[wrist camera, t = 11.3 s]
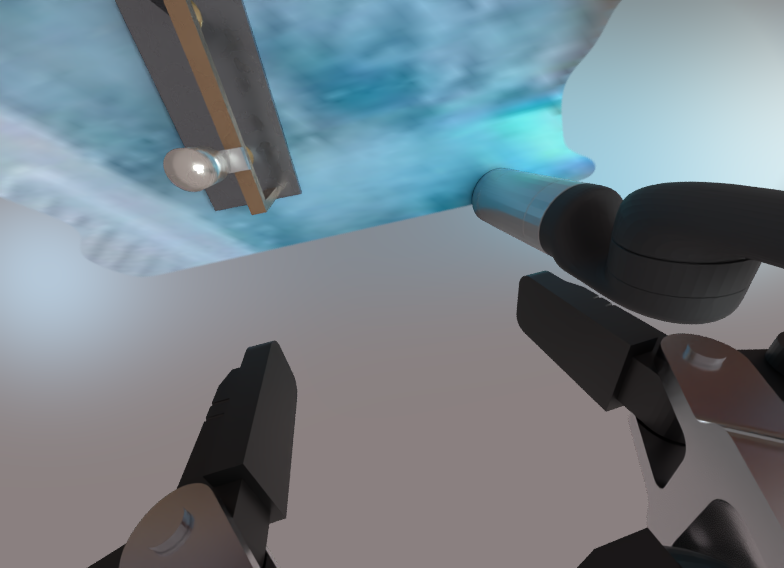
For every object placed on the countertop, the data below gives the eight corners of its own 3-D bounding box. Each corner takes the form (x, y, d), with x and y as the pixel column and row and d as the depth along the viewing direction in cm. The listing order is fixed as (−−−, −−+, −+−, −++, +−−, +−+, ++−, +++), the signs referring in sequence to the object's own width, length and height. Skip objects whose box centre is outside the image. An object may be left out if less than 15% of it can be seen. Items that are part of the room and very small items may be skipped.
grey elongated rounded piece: (260, 138, 36) (220, 141, 21) (269, 165, 37) (238, 183, 23) (222, 145, 35) (154, 152, 21) (233, 171, 37) (177, 195, 22)
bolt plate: (239, -11, 31) (197, -87, 20) (301, 192, 42) (295, 210, 31) (122, 2, 29) (12, -72, 19) (218, 208, 40) (183, 234, 30)
